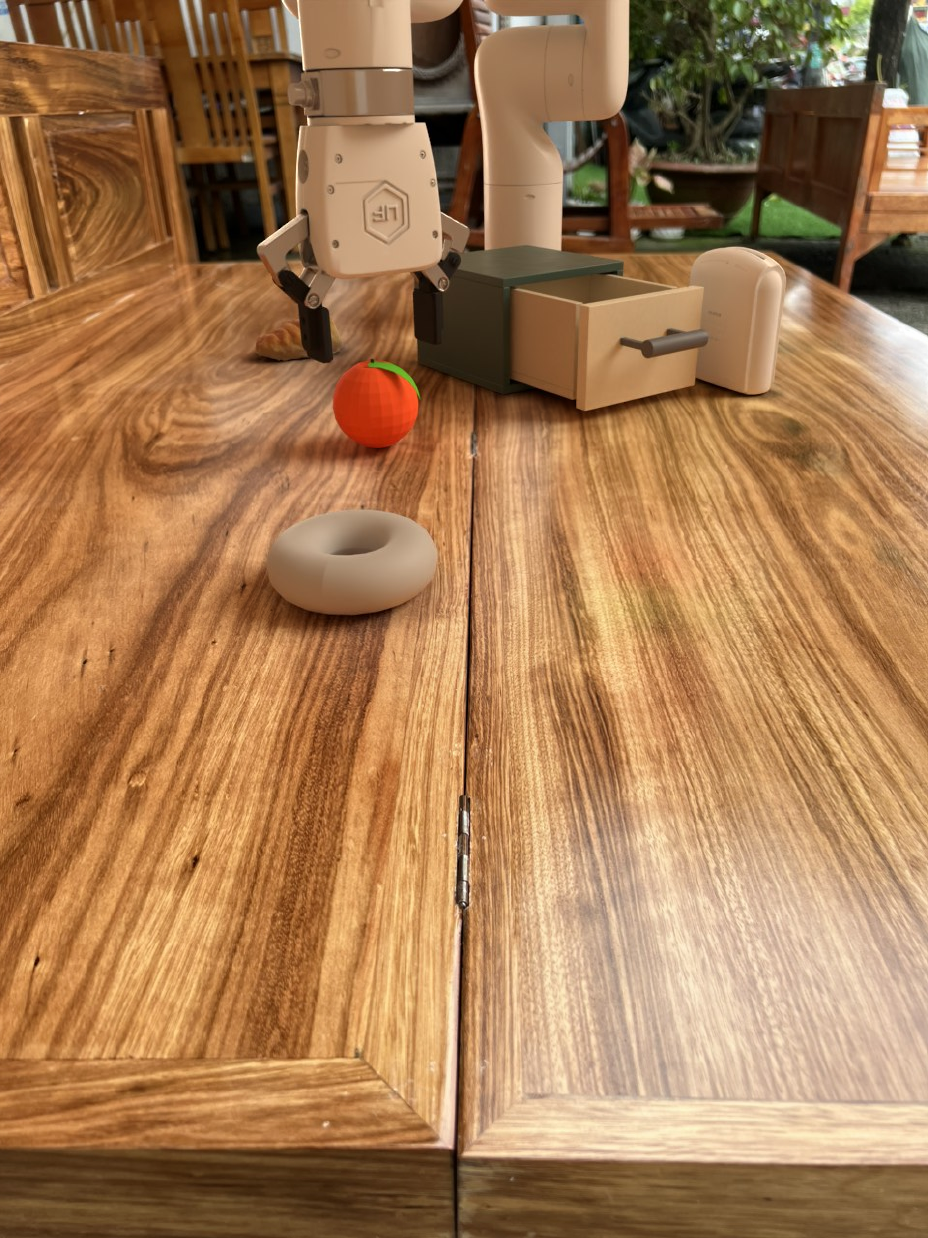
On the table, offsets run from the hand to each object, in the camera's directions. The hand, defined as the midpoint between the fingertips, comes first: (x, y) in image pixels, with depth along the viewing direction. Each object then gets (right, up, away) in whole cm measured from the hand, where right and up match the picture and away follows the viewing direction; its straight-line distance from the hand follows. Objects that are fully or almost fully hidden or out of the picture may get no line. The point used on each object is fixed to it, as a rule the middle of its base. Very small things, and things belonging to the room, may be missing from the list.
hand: (375, 350), depth 75 cm
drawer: (+20, +1, +15) cm, 25 cm away
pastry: (-11, +9, +33) cm, 36 cm away
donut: (0, -19, -18) cm, 26 cm away
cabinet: (+12, +6, +26) cm, 29 cm away
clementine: (0, -7, +4) cm, 8 cm away
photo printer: (+32, +2, +19) cm, 37 cm away
